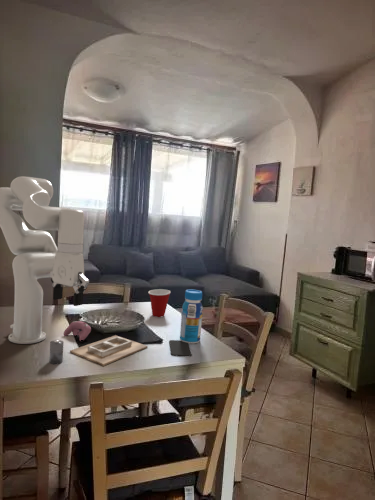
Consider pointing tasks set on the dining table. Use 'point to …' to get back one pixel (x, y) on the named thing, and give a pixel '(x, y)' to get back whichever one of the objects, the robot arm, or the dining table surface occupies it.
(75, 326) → the video game controller
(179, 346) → the phone
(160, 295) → the plastic cup
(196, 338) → the beverage bottle
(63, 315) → the dining table surface
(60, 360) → the cylinder
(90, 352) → the tray
